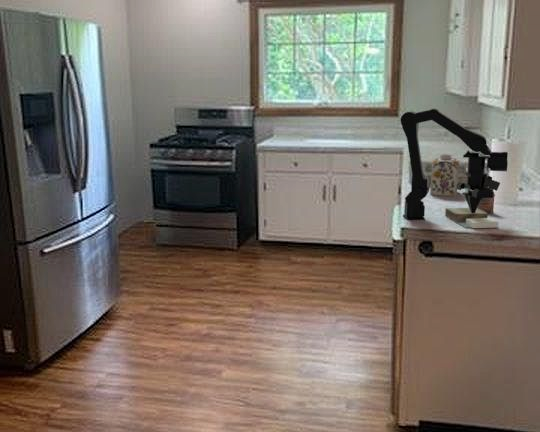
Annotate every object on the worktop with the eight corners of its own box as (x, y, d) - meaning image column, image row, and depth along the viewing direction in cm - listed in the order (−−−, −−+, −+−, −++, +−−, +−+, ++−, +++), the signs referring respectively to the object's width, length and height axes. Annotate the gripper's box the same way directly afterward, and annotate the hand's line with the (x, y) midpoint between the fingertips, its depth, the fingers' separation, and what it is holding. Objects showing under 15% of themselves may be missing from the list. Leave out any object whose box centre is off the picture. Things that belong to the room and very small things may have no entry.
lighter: (472, 210, 233) (474, 185, 231) (478, 209, 235) (480, 184, 232) (489, 214, 226) (491, 188, 224) (495, 213, 228) (497, 187, 226)
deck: (455, 222, 213) (455, 214, 213) (445, 216, 223) (445, 208, 222) (487, 221, 214) (487, 213, 214) (475, 215, 224) (476, 207, 223)
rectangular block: (466, 218, 209) (465, 224, 209) (473, 222, 203) (473, 228, 203) (490, 217, 210) (489, 223, 210) (498, 221, 204) (497, 227, 204)
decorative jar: (456, 197, 260) (459, 156, 256) (429, 195, 263) (431, 155, 259) (457, 192, 271) (459, 153, 267) (431, 191, 274) (433, 152, 270)
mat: (465, 228, 205) (465, 227, 205) (455, 222, 213) (455, 221, 213) (498, 227, 206) (498, 226, 205) (487, 221, 214) (487, 220, 214)
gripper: (510, 173, 200) (506, 218, 204) (486, 166, 218) (483, 207, 222) (478, 174, 199) (475, 219, 203) (457, 166, 217) (454, 207, 221)
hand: (473, 213), depth 212 cm, fingers closed
